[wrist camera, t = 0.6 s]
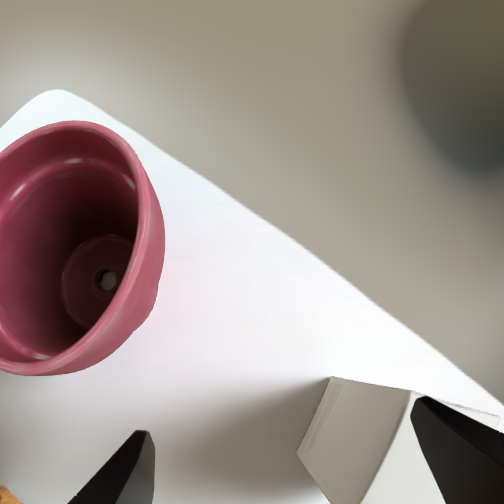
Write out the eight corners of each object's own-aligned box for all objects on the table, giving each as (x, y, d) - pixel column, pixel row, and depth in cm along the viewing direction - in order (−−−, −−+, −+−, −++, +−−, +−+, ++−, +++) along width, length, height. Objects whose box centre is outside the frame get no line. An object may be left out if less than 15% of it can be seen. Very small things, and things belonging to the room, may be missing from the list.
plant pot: (138, 404, 22) (56, 438, 10) (21, 314, 23) (-77, 280, 11) (220, 252, 26) (209, 164, 14) (95, 188, 28) (35, 99, 16)
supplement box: (292, 454, 21) (339, 528, 9) (330, 373, 24) (411, 384, 12) (368, 474, 21) (449, 533, 9) (402, 399, 23) (505, 414, 11)
